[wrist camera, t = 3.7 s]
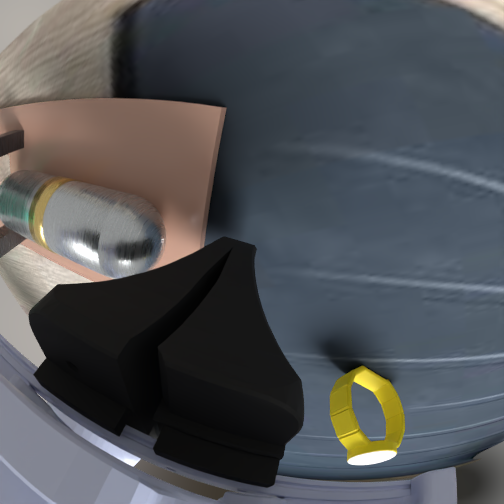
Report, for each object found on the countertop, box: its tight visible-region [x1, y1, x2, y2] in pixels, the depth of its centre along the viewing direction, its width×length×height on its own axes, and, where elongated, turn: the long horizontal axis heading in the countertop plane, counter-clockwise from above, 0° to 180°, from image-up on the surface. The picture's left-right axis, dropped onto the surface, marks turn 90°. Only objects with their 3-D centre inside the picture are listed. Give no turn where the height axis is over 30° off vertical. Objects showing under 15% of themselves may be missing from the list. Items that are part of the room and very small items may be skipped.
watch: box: [330, 366, 405, 465], centre depth 13 cm, size 6×3×6 cm, turn 56°
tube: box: [0, 170, 166, 279], centre depth 11 cm, size 12×4×4 cm, turn 78°
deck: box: [0, 98, 226, 282], centre depth 13 cm, size 25×11×1 cm, turn 78°
